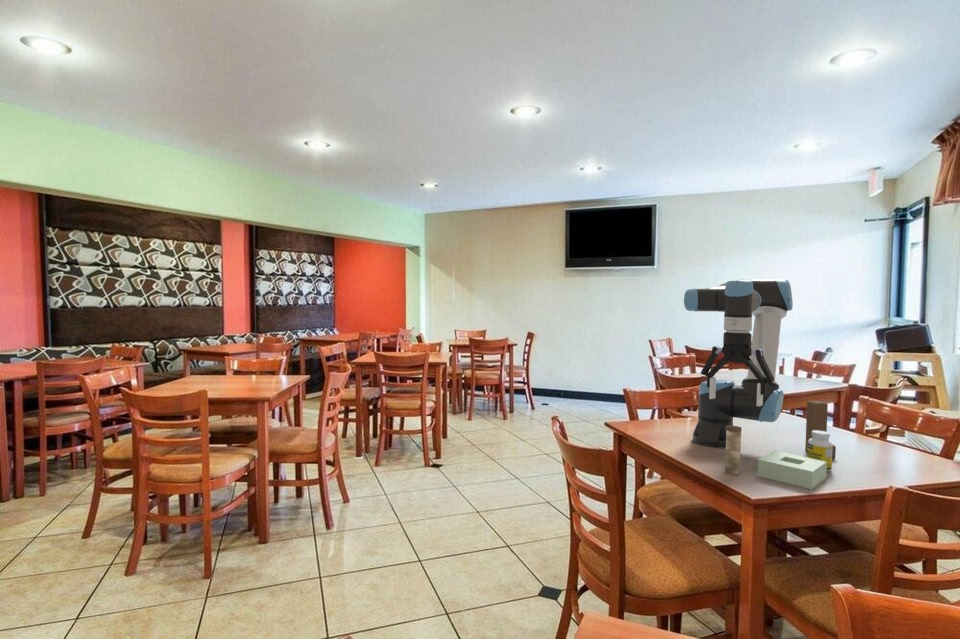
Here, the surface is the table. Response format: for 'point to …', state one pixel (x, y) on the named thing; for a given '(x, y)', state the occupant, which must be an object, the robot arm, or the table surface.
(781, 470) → the socket block
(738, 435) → the dowel
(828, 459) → the pill bottle
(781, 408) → the robot arm
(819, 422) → the wooden block
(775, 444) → the table surface
